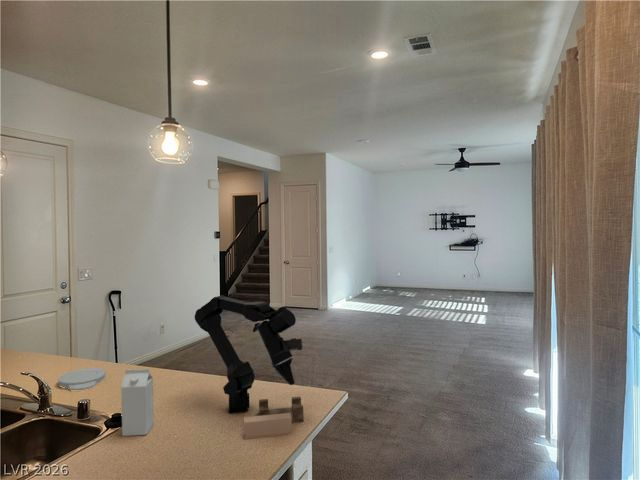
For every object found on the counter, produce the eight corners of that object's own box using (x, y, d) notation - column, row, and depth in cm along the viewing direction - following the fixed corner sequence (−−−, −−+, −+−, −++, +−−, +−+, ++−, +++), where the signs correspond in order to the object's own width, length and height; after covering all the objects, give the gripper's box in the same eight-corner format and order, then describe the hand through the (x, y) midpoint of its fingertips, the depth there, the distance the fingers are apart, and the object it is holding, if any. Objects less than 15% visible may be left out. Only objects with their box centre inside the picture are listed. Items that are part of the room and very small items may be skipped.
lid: (56, 396, 156) (55, 388, 156) (59, 379, 174) (59, 372, 174) (107, 387, 165) (107, 379, 165) (105, 372, 182) (105, 365, 182)
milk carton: (131, 425, 131) (129, 366, 131) (154, 424, 132) (152, 365, 131) (122, 436, 124) (120, 374, 124) (146, 435, 125) (145, 373, 124)
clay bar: (244, 439, 122) (244, 422, 122) (244, 433, 126) (244, 417, 126) (291, 434, 125) (291, 417, 125) (290, 428, 129) (289, 412, 128)
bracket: (259, 425, 130) (259, 410, 130) (259, 412, 139) (258, 399, 139) (303, 421, 133) (303, 407, 132) (300, 409, 142) (300, 396, 141)
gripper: (295, 323, 127) (318, 371, 123) (292, 331, 144) (312, 373, 140) (262, 339, 124) (284, 389, 120) (263, 345, 142) (282, 389, 138)
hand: (292, 384), depth 130 cm, fingers open, 9 cm apart
